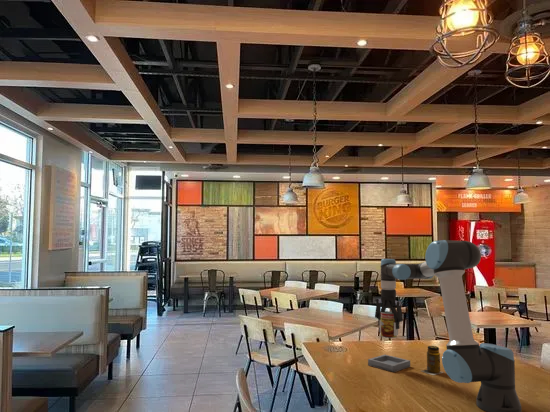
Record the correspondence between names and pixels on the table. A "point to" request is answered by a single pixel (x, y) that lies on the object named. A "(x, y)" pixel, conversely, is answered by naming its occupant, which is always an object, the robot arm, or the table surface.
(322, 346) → the table surface
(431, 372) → the condiment
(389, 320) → the canned food
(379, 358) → the holder
